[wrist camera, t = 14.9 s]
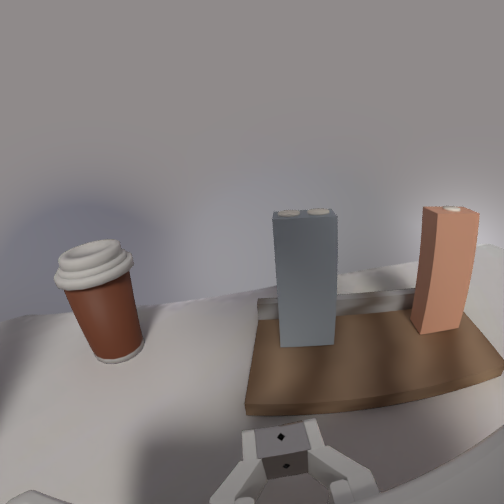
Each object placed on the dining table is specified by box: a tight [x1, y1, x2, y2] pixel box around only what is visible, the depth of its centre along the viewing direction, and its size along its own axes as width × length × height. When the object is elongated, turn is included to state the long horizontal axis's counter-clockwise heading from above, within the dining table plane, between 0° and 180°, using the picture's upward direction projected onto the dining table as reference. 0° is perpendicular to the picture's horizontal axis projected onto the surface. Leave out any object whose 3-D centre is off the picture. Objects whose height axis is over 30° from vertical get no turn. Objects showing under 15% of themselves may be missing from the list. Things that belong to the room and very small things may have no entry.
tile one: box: [410, 206, 479, 335], centre depth 23 cm, size 5×3×12 cm, turn 84°
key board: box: [245, 288, 504, 416], centre depth 25 cm, size 24×16×4 cm, turn 84°
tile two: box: [272, 209, 338, 347], centre depth 25 cm, size 5×3×12 cm, turn 84°
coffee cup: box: [54, 239, 144, 364], centre depth 28 cm, size 9×9×12 cm
